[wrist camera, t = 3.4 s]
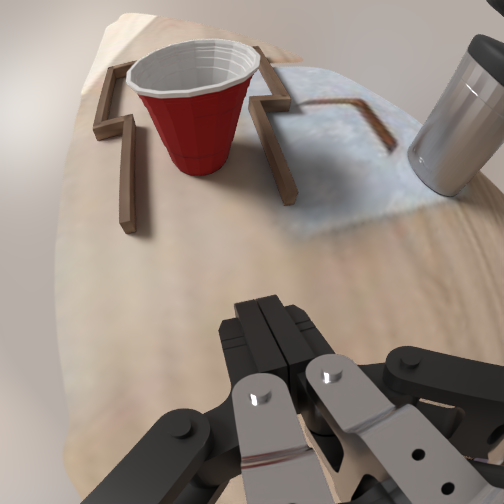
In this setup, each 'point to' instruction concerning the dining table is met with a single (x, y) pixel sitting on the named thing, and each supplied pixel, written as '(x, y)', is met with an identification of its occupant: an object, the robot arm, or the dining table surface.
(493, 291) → the dining table surface
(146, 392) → the dining table surface
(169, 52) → the plastic cup
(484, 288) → the dining table surface
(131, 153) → the T fence
